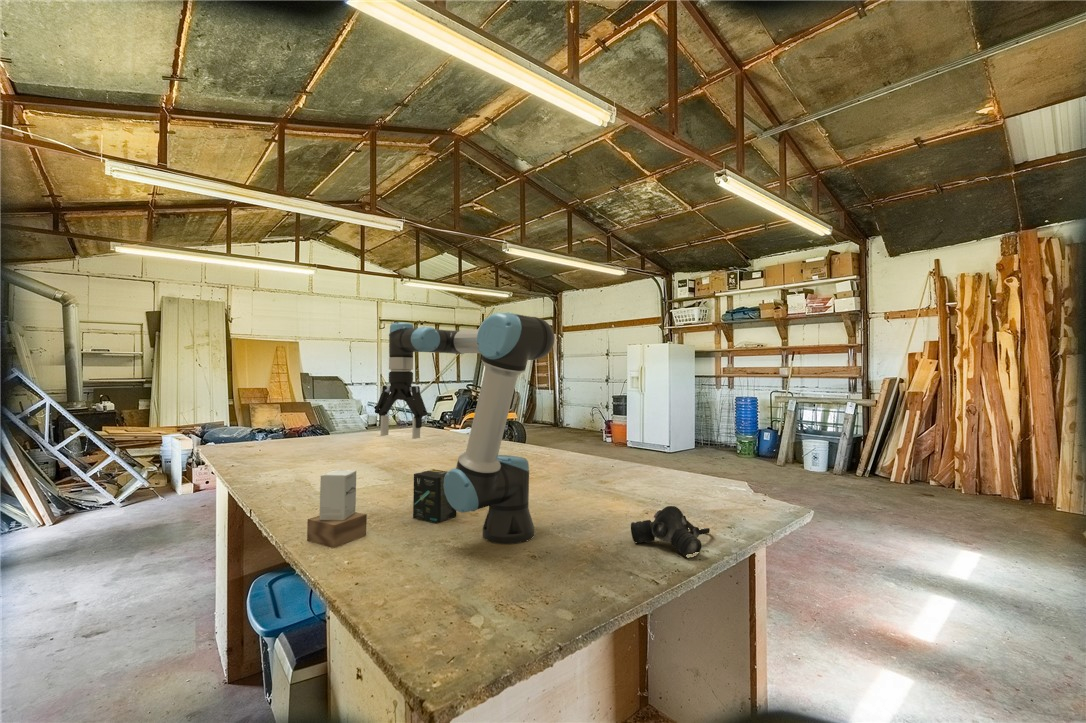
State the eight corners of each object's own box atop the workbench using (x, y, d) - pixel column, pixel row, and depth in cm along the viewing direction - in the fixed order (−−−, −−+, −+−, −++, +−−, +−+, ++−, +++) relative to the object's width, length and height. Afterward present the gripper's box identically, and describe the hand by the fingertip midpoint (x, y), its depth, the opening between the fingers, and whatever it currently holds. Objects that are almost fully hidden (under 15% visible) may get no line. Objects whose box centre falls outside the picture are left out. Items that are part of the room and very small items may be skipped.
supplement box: (344, 521, 129) (345, 475, 129) (318, 520, 129) (319, 474, 130) (356, 513, 136) (357, 469, 137) (331, 512, 137) (332, 469, 137)
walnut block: (366, 535, 135) (366, 514, 135) (333, 547, 125) (334, 525, 125) (340, 529, 140) (340, 509, 140) (307, 540, 130) (307, 519, 130)
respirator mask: (621, 534, 129) (639, 486, 136) (651, 566, 141) (666, 521, 148) (689, 553, 116) (705, 499, 123) (716, 587, 127) (730, 536, 135)
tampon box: (457, 516, 153) (457, 472, 153) (436, 524, 145) (437, 477, 146) (433, 511, 159) (433, 468, 159) (412, 518, 151) (413, 473, 152)
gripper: (439, 371, 148) (438, 438, 147) (381, 370, 159) (380, 433, 158) (423, 370, 141) (422, 441, 140) (364, 370, 152) (363, 435, 152)
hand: (400, 436), depth 149 cm, fingers open, 13 cm apart
